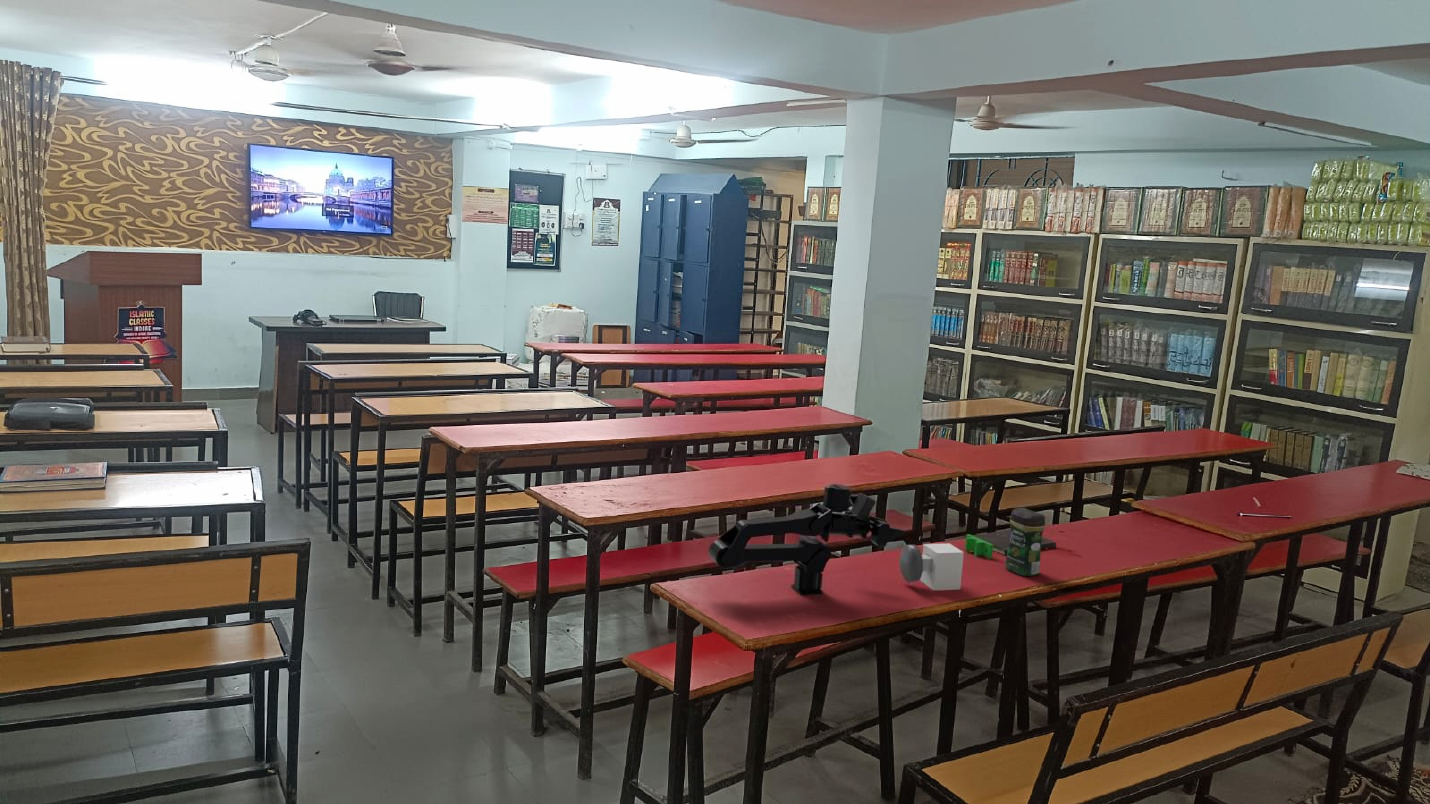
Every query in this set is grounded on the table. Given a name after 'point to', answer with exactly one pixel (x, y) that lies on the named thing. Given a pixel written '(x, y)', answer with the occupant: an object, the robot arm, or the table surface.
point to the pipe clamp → (978, 546)
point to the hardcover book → (1007, 541)
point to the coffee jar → (1025, 542)
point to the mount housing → (943, 567)
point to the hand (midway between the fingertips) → (894, 527)
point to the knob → (914, 563)
